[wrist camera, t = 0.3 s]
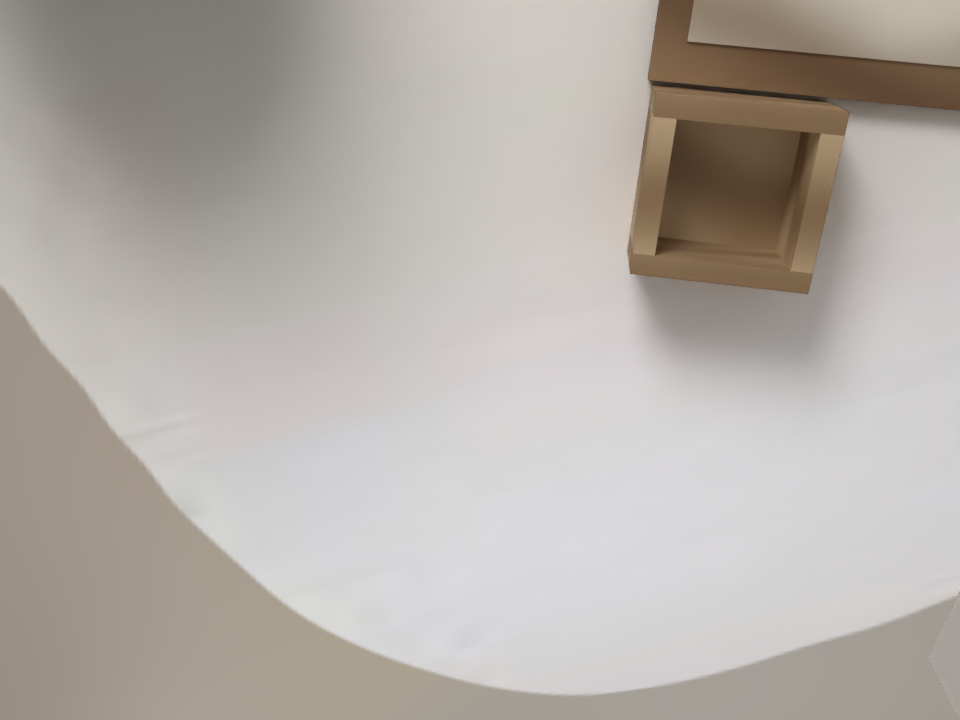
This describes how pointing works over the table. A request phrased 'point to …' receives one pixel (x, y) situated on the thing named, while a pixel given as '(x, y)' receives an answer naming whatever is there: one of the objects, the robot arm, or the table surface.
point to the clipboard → (814, 48)
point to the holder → (734, 187)
